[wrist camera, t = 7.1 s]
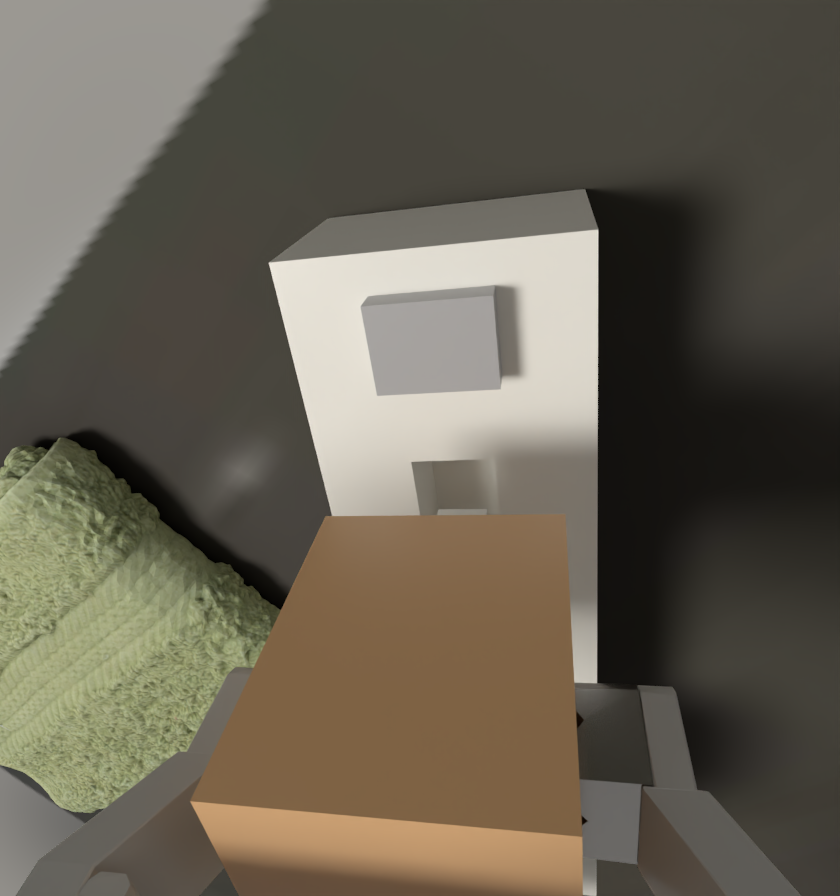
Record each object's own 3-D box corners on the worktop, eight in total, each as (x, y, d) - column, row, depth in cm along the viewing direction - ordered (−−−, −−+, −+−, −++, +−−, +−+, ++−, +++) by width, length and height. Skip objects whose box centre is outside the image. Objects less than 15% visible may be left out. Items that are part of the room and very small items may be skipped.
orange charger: (566, 638, 14) (583, 1051, 8) (393, 633, 15) (296, 1007, 9) (562, 446, 12) (582, 836, 6) (355, 453, 13) (189, 801, 7)
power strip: (589, 783, 25) (597, 916, 21) (438, 772, 26) (420, 896, 22) (585, 189, 14) (601, 237, 10) (328, 218, 15) (256, 271, 12)
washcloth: (-120, 625, 28) (-190, 686, 26) (62, 396, 20) (-13, 449, 17) (123, 782, 32) (84, 849, 29) (359, 641, 24) (336, 716, 21)
